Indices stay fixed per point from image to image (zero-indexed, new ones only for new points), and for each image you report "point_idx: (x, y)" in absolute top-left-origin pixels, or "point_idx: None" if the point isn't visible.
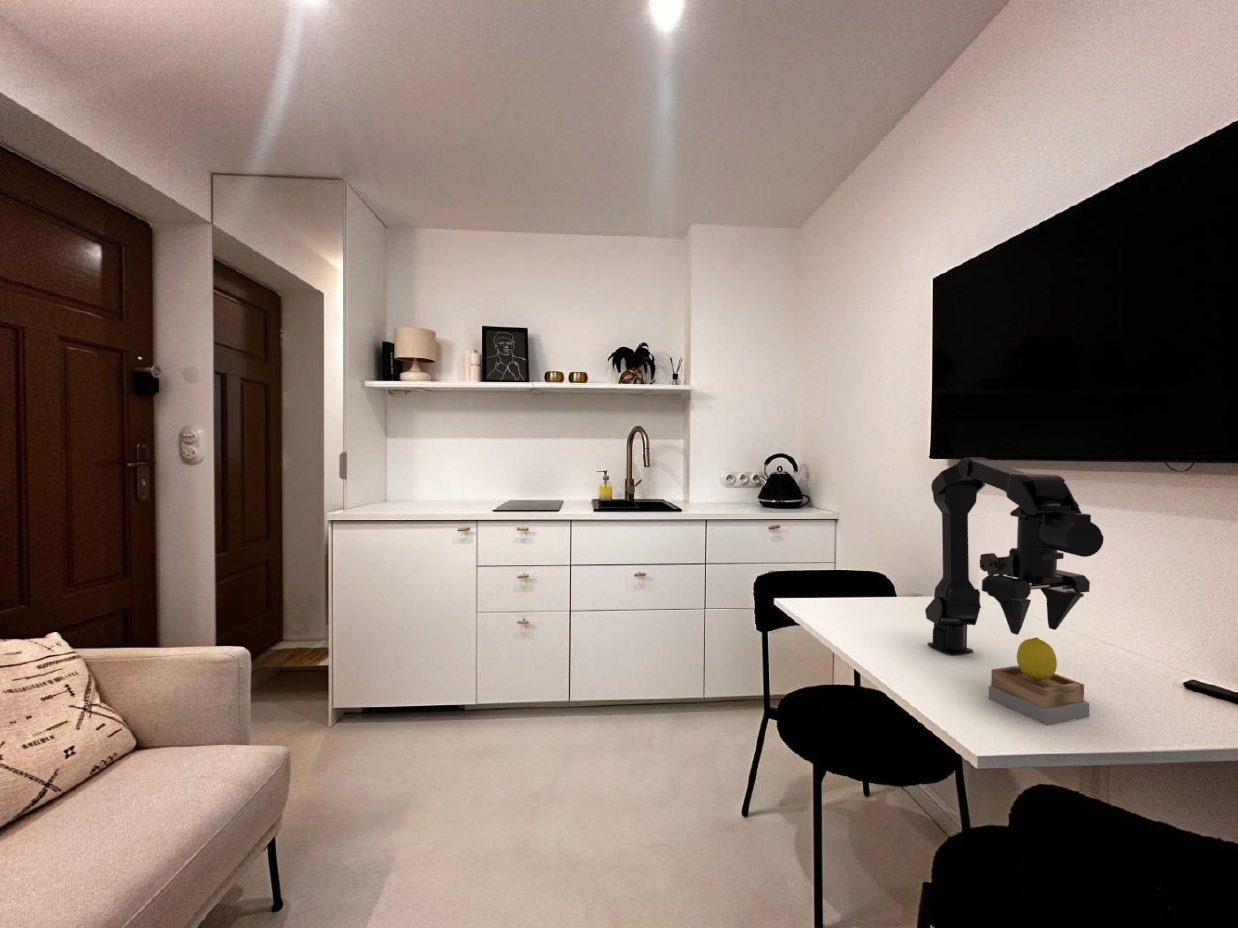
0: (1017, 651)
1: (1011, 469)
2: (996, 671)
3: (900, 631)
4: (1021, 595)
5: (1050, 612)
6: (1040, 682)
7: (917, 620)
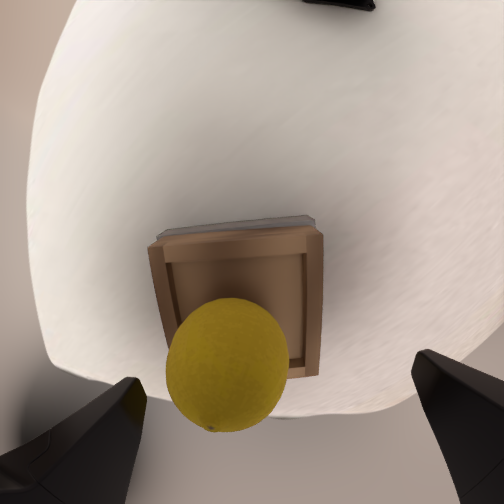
0: (178, 337)
1: None
2: (151, 263)
3: None
4: None
5: (463, 408)
6: None
7: None
